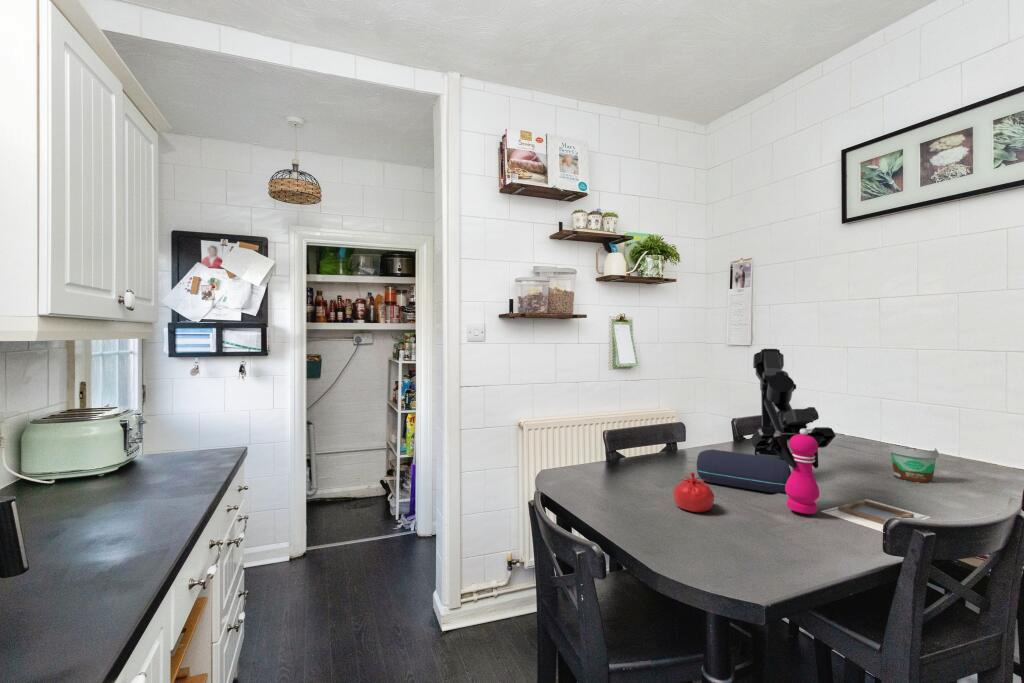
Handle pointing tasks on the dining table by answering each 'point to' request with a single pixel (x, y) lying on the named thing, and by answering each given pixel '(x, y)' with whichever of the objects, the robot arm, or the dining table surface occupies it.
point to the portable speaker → (743, 470)
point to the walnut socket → (848, 507)
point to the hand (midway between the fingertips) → (805, 467)
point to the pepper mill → (802, 474)
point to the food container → (913, 464)
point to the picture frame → (872, 512)
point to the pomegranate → (693, 495)
